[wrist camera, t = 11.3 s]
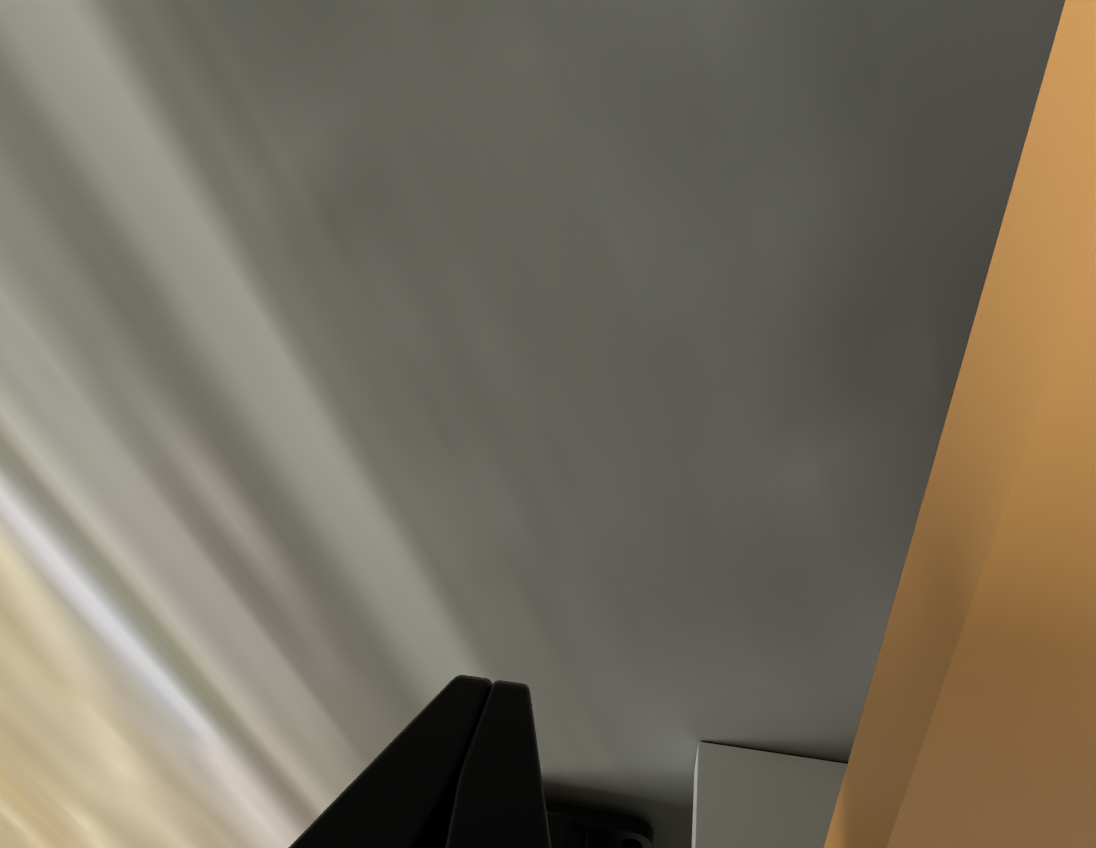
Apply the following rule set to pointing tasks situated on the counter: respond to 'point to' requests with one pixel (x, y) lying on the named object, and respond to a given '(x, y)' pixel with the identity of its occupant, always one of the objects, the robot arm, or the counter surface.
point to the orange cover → (1004, 537)
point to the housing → (762, 798)
